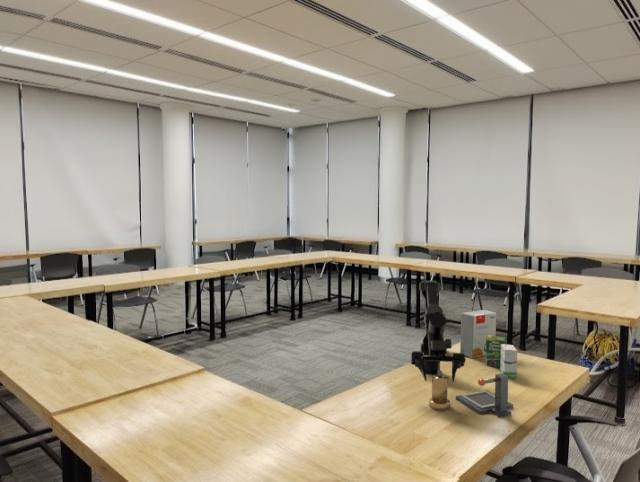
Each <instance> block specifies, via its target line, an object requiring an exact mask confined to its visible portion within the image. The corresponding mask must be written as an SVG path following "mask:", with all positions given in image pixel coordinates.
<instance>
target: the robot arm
mask: <svg viewBox="0 0 640 482" xmlns="http://www.w3.org/2000/svg"><path fill="white" fill-rule="evenodd" d="M418 287H419V288H418V289H419V292H420V295H421V297H422V299H423V300H424V314H423V323H424V324H425V335H424V336H423V338H422V339H423V340H422V339H421V341H422V344H421V343H420V349H419V350H417V351H416V350H413V351H412V352H411V354H410V364H411V365H413V366H415V367H417V368H418V370H419V371H420V373H421V375H422V377H423V379H424V381H425V382H427V379H428V378H427V377H428V375H432V376H433V375H436V374H438V371H441V362H444V363H445V362H446V363H447V362H449V363H451V364H452V365H451V381H452V383H454V382H455V379H456V373H457V371H458V369H461V368H462V367H465V363H466V360H467V359H466V356H465V354H464V353H460V352H453V353H452V355H447V352H446V349H447V350H448V349H452V347H453V346H452V338H446V339H445V336H444V333H445V329H446V325H447V324H448V318H447V317H446V314H444V312H443V308H442V307H441V306H440V304H439V294H438V293H439V292H441V283H440V282H437V280H422V281H421V282H419V286H418ZM437 295H438V296H437ZM427 374H428V375H427Z"/></svg>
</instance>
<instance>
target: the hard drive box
mask: <svg viewBox="0 0 640 482" xmlns="http://www.w3.org/2000/svg"><path fill="white" fill-rule="evenodd" d="M460 318H461V319H460V321H461V323H460V343H459V345H460V348H459V353H464V354H465V357H467V358H470V359H474V358H481V357H484V356H485V357H486V336H487V335H490V336H496V334H497V333H496V331H497V312H495V311H492V310H491V311H490V310H487V309H479V310H474V311H467V312H466V311H465V312H461V315H460Z"/></svg>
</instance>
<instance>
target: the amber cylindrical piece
mask: <svg viewBox="0 0 640 482" xmlns="http://www.w3.org/2000/svg"><path fill="white" fill-rule="evenodd" d="M431 377H432V378H431V397H430V398H429V400H428V403H429V404H428V405H429V408H430V409H431V410H433V411H438V412H447V411H449V410H450V409H451V401H450V400H449V398H448V385H449V384H448V382H449V381H448V378H449V377H448V376H447V375H445V374H443V370H440V371H438V373H437V374H436V375H433V374H432V376H431Z"/></svg>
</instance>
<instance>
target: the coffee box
mask: <svg viewBox="0 0 640 482" xmlns="http://www.w3.org/2000/svg"><path fill="white" fill-rule="evenodd" d="M501 344H506V345H507V337H506V336H498V335H497V336H490V335H487V336H486V356H485V360H486V362H485V364H486V365H485V366H489V367H495V368H500V364H501Z"/></svg>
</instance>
